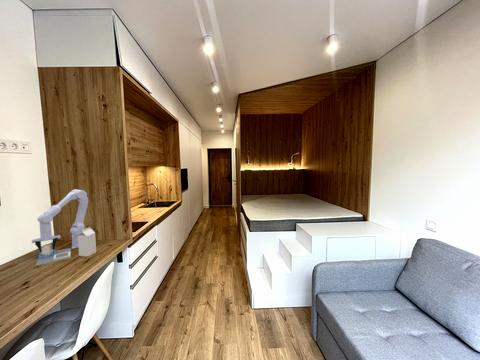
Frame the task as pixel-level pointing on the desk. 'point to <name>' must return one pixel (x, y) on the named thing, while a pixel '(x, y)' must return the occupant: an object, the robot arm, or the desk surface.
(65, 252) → the duct panel
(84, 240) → the milk carton
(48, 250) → the plug
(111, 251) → the desk surface
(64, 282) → the desk surface
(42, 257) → the blue bezel
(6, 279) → the desk surface
